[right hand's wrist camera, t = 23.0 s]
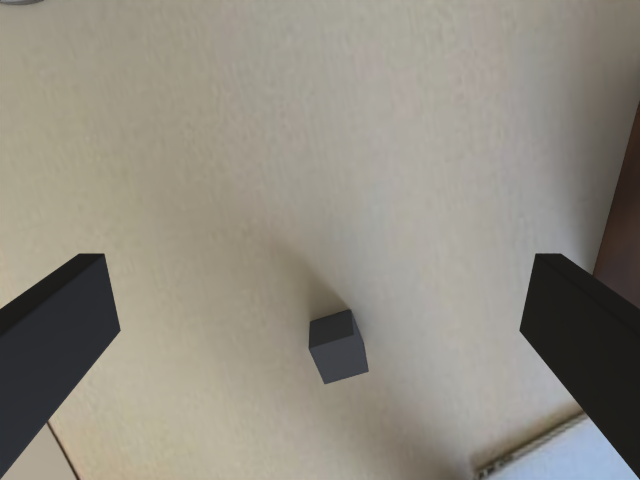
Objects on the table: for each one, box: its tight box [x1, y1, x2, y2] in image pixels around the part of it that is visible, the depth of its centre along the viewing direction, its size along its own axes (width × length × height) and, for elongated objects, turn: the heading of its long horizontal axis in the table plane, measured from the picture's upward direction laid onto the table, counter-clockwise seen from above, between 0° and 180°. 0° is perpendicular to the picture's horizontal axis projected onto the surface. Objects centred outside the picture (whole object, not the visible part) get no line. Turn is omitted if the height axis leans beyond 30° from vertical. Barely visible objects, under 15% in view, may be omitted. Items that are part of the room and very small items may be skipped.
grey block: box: [309, 309, 369, 384], centre depth 45 cm, size 5×5×5 cm
